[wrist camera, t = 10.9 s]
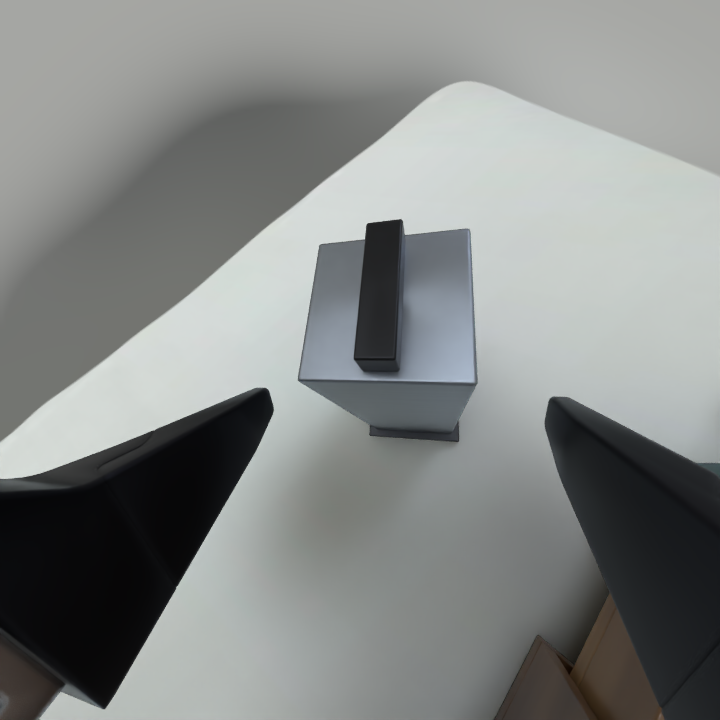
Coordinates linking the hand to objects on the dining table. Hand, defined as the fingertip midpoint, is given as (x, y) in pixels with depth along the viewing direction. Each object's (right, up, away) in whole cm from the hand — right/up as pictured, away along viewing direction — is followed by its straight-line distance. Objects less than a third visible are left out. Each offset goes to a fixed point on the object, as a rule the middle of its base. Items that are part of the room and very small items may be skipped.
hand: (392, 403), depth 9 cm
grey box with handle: (+2, -1, +9) cm, 10 cm away
